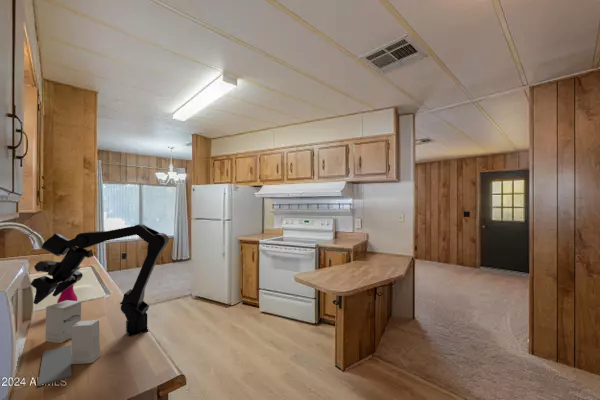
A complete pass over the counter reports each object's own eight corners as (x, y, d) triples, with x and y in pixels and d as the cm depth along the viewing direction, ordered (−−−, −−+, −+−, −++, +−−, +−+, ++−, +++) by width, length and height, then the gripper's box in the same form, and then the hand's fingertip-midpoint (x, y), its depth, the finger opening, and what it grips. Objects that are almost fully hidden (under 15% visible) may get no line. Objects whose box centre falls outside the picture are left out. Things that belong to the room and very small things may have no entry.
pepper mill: (61, 309, 128) (62, 267, 129) (80, 307, 131) (80, 266, 131) (53, 315, 122) (54, 270, 122) (72, 313, 124) (73, 269, 124)
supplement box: (60, 343, 97) (61, 308, 97) (44, 341, 98) (45, 306, 98) (81, 334, 104) (81, 300, 104) (65, 332, 105) (66, 299, 106)
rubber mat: (70, 346, 95) (70, 344, 95) (71, 376, 78) (71, 374, 78) (43, 353, 90) (43, 351, 90) (37, 387, 74) (37, 385, 74)
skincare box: (100, 356, 89) (100, 319, 89) (91, 364, 84) (91, 325, 84) (80, 357, 88) (80, 319, 88) (69, 365, 84) (70, 325, 84)
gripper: (67, 248, 110) (42, 282, 108) (30, 255, 91) (0, 296, 89) (93, 261, 111) (69, 296, 109) (61, 271, 93) (32, 312, 91)
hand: (44, 299), depth 100 cm, fingers open, 9 cm apart
